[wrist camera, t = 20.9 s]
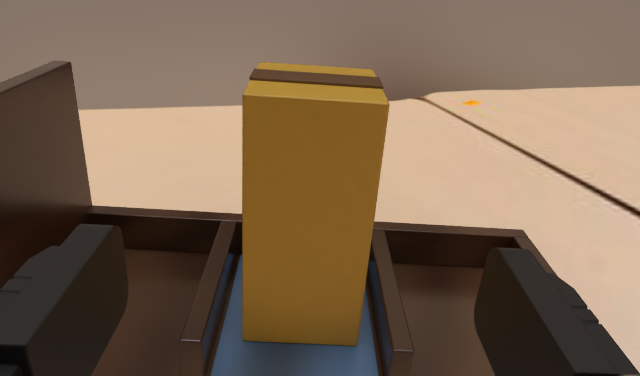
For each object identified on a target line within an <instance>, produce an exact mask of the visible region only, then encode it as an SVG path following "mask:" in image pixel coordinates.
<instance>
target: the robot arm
mask: <svg viewBox="0 0 640 376" xmlns="http://www.w3.org/2000/svg"><path fill="white" fill-rule="evenodd" d="M128 292H129V286H128V277H127V269H126V261H125V252H124V244H123V236H122V232H121V229H120V228H119V227H118V226H112V225H94V224H80V225H78V226H77V227H76V228H75V229H74V231H73V232H72V233H71V234H70V235H69V236H68V238H67V239H66V240H65V241H64V242H63V243H62V244H61V246H50V247H49V248H47V249H45V250H43V251H42V252H40V253H38V254H36V255H35V256H33V257H31V258H30V259H28V260H27V261H26V262H25V263H24V264H23V265H22V266H21V268H20V269H19V270H18V271H17V272H16V273H15V274H14V275H13V278H12V279H9V280H8V281H7V283H6V284H5V285H4V286H3V287H2V288H1V289H0V376H91V375H92V373H93V371H94V370H95V368H96V366H97V364H98V362H99V360H100V358H101V356H102V354H103V353H104V351H105V349H106V347H107V345H108V343H109V341H110V339H111V337H112V335H113V334H114V332H115V330H116V328H117V326H118V324H119V322H120V320H121V318H122V317H123V314H124V312H125V309H126V306H127V301H128ZM474 323H475V329H476V332H477V335H478V337H479V339H480V342H481V344H482V346H483V349H484V351H485V353H486V356H487V358H488V360H489V363H490V365H491V367H492V370H493V372H494V374H495V376H640V373H639V372H638V371H637V369H636V368H635V367H634V366H633V364H632V363H631V362H630V360H629V359H628V358H627V357H626V355H625V354H624V353H623V351H622V350H621V349H620V348H619V346H618V345H617V344H616V342H615V341H614V340H613V338H612V337H611V336H610V335H609V333H608V332H607V331H606V329H605V328H604V327H603V326H602V325H601V324H599V320H598V319H597V318H596V317H595V315H594V314H593V313H592V311H591V310H588V309H587V305H586V304H585V302H584V301H583V300H582V298H581V297H580V296H579V295H578V293H577V292H576V291H575V289H574V288H572V287H571V286H570V285H568V284H567V283H565V282H564V281H563V280H561V279H560V278H559V277H557V276H556V275H555V274H553V273H546V271H545V270H544V268H543V267H542V266H541V264H540V263H539V262H538V260H537V259H536V257H535V256H534V255H533V253H532V252H531V251H530V250H528V249H514V248H496V247H495V248H492V249H491V250H490V251H489V253H488V255H487V259H486V263H485V267H484V270H483V274H482V278H481V282H480V286H479V290H478V294H477V297H476V301H475V306H474Z"/></svg>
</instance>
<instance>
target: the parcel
mask: <svg viewBox="0 0 640 376" xmlns="http://www.w3.org/2000/svg"><path fill="white" fill-rule="evenodd" d="M382 89H383V85H382V83H381V81H380V79H379V77H376V76H375V74H374V71H373V70H369V69H356V68H341V67H325V66H312V65H296V64H283V63H267V62H260V63H259V65H258V67H257V68H256V69H254V70H253V72H252V74H251V76H250V82H249V84H248V86H247V88H246V89H245V92H244V93H243V175H242V339H243V341H260V342H281V343H302V344H322V345H343V346H357V344H358V337H359V329H360V322H361V314H362V307H363V299H364V292H365V284H366V277H367V269H368V262H369V254H370V247H371V239H372V232H373V224H374V217H375V209H376V202H377V194H378V187H379V180H380V172H381V165H382V157H383V150H384V142H385V135H386V127H387V120H388V112H389V102H388V100H387V98H386V96H385V94H384V92H383V90H382Z"/></svg>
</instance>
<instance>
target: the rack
mask: <svg viewBox="0 0 640 376" xmlns="http://www.w3.org/2000/svg"><path fill="white" fill-rule="evenodd" d="M80 224H94V225H112V226H118V227H119V228H120V229H121V232H122V236H123V244H124V252H125V261H126V269H127V277H128V286H129V292H128V301H127V306H126V309H125V312H124V314H123V317H122V318H121V320H120V322H119V324H118V326H117V328H116V330H115V332H114V334H113V335H112V337H111V339H110V341H109V343H108V345H107V347H106V349H105V351H104V353H103V354H102V356H101V358H100V360H99V362H98V364H97V366H96V368H95V370H94V371H93V373H92V375H91V376H495V374H494V372H493V370H492V367H491V365H490V363H489V360H488V358H487V356H486V353H485V351H484V349H483V346H482V344H481V342H480V339H479V337H478V335H477V332H476V329H475V323H474V306H475V301H476V297H477V294H478V290H479V286H480V282H481V278H482V274H483V270H484V267H485V263H486V259H487V255H488V253H489V251H490V250H491V249H492V248H495V247H496V248H514V249H528V250H530V251H531V252H532V253H533V255H534V256H535V257H536V259H537V260H538V262H539V263H540V264H541V266H542V267H543V268H544V270H545V271H546V273H553V274H555V275H556V273H555V272H554V271H553V269H552V268H551V267H550V265H549V264H548V263H547V261H546V260H545V259H544V257H543V256H542V255H541V253H540V252H539V251H538V249H537V248H536V247H535V245H534V244H533V243H532V241H531V240H530V239H529V238H528V236H527V235H526V233H525V232H524V231H523V230H516V229H498V228H481V227H463V226H445V225H427V224H410V223H392V222H374V224H373V232H372V239H371V247H370V254H369V262H368V269H367V277H366V284H365V292H364V299H363V307H362V314H361V322H360V329H359V337H358V344H357V346H343V345H322V344H302V343H281V342H260V341H243V339H242V214H233V213H215V212H197V211H179V210H162V209H144V208H126V207H109V206H92V201H91V195H90V188H89V181H88V174H87V168H86V161H85V154H84V147H83V141H82V134H81V127H80V120H79V114H78V107H77V100H76V93H75V87H74V80H73V73H72V66H71V63H70V62H64V61H53V62H50V63H48V64H45V65H43V66H40V67H38V68H35V69H33V70H31V71H28V72H26V73H23V74H21V75H18V76H16V77H13V78H11V79H8V80H6V81H4V82H1V83H0V289H1V288H2V287H3V286H4V285H5V284H6V283H7V281H8V280H9V279H12V278H13V275H14V274H15V273H16V272H17V271H18V270H19V269H20V268H21V266H22V265H23V264H24V263H25V262H26V261H27V260H28V259H30V258H31V257H33V256H35V255H36V254H38V253H40V252H42V251H43V250H45V249H47V248H49V247H50V246H61V244H62V243H63V242H64V241H65V240H66V239H67V238H68V236H69V235H70V234H71V233H72V232H73V231H74V229H75V228H76V227H77V226H78V225H80ZM556 276H557V275H556ZM557 277H558V276H557Z"/></svg>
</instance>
